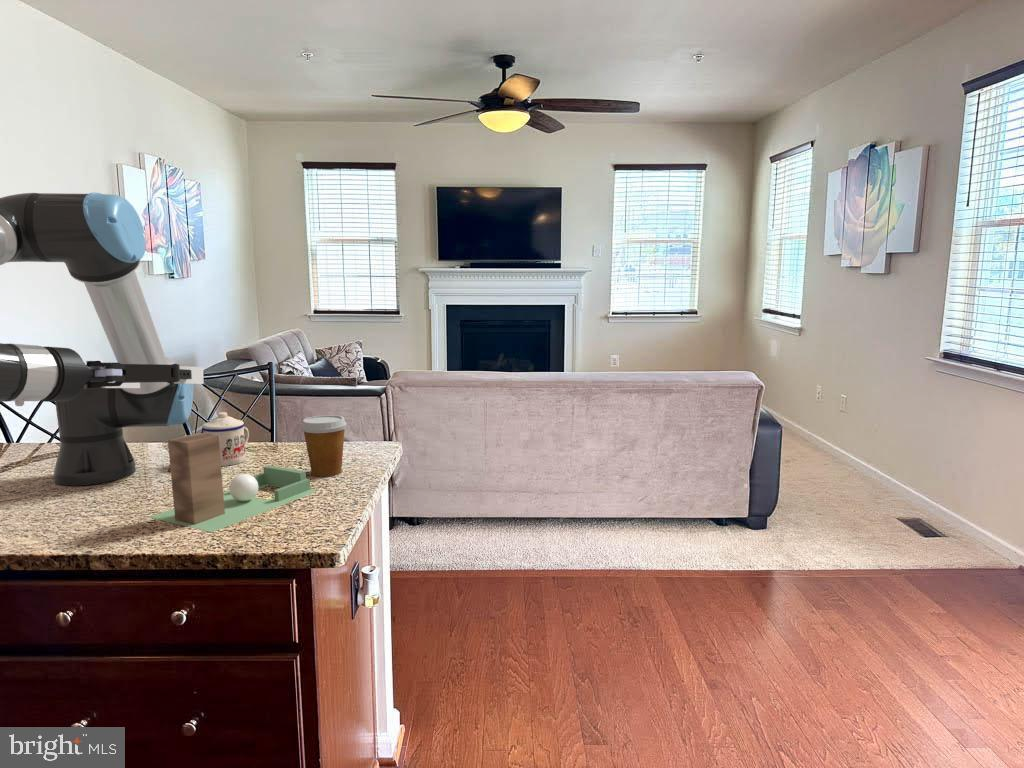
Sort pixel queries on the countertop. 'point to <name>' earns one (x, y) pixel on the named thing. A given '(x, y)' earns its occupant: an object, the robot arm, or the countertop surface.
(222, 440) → the teacup with lid
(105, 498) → the countertop surface
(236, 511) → the pad
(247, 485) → the ball
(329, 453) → the disposable coffee cup
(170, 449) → the walnut block
